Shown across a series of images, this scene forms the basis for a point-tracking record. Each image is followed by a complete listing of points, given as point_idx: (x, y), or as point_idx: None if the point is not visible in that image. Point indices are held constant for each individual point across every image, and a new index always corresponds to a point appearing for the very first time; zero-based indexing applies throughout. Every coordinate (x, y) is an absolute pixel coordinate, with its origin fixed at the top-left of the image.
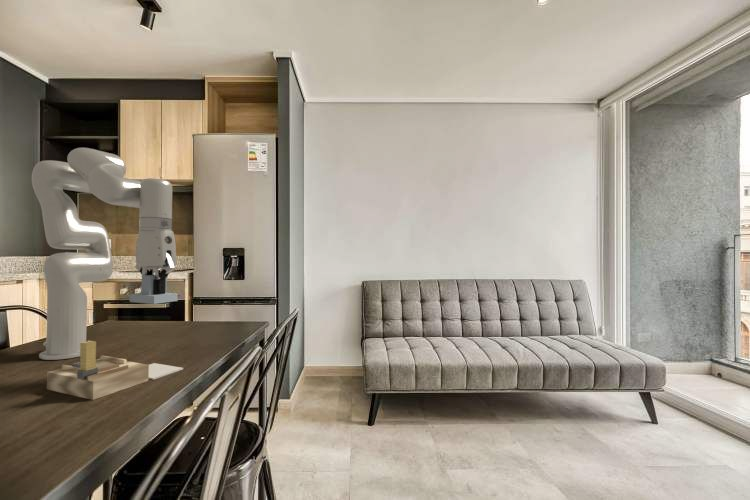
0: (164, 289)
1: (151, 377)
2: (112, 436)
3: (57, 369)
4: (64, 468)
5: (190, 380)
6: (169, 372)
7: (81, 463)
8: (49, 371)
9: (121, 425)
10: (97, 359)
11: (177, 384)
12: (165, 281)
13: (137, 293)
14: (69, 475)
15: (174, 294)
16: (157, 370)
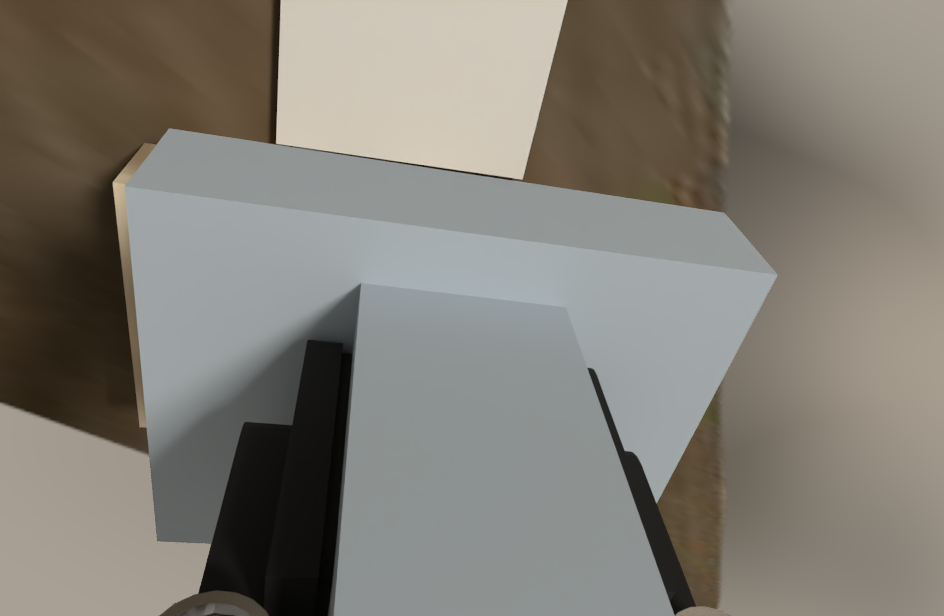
0: (638, 461)
1: (504, 174)
2: (701, 510)
3: (137, 395)
4: (692, 587)
5: (712, 124)
6: (546, 77)
7: (711, 574)
8: (139, 420)
9: (684, 475)
10: (122, 230)
11: (674, 189)
12: (653, 538)
13: (159, 463)
14: (718, 594)
15: (742, 321)
16: (445, 59)
